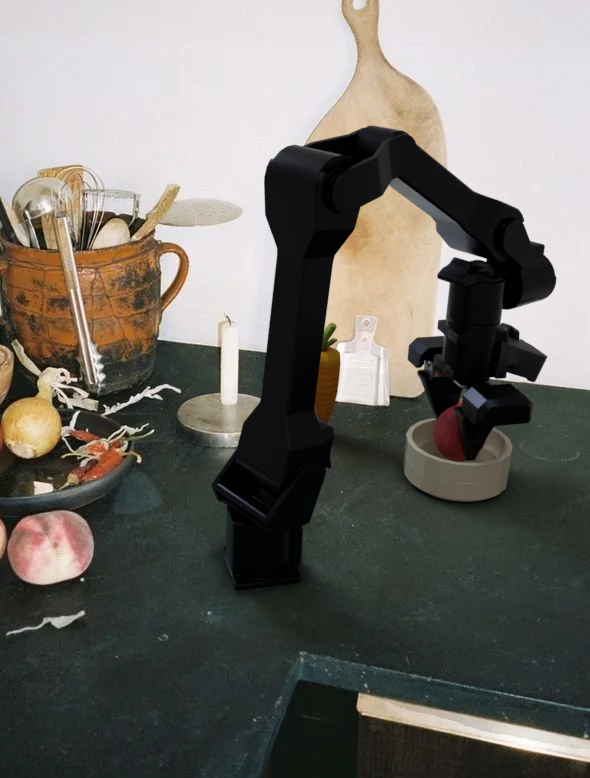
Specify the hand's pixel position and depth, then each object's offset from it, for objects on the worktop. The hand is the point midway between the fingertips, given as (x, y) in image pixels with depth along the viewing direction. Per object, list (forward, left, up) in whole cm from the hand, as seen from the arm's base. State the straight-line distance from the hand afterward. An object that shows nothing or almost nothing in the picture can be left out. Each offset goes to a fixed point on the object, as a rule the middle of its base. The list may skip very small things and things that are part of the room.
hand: (457, 447), depth 106 cm
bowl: (0, 0, -4) cm, 4 cm away
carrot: (-12, +14, -4) cm, 19 cm away
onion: (0, 0, -2) cm, 2 cm away
